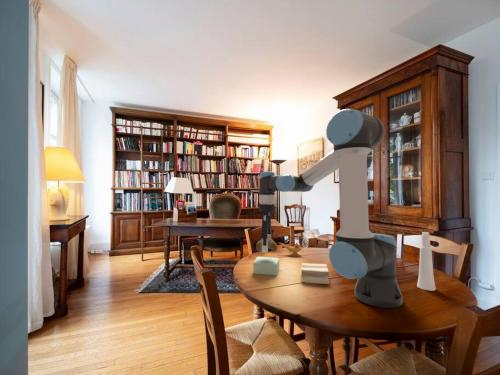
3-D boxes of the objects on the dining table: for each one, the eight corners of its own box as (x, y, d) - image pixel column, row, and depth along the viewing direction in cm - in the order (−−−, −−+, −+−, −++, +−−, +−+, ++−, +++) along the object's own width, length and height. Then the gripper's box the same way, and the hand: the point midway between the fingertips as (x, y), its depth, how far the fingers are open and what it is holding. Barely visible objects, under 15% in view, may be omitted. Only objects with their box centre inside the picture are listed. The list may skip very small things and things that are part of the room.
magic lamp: (279, 252, 154) (279, 234, 154) (308, 254, 148) (308, 236, 148) (276, 254, 147) (276, 236, 148) (307, 257, 142) (307, 238, 142)
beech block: (328, 284, 100) (328, 271, 100) (301, 281, 103) (301, 270, 103) (326, 275, 111) (326, 264, 111) (301, 273, 113) (301, 262, 114)
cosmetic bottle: (419, 283, 101) (418, 230, 102) (437, 288, 97) (436, 232, 97) (415, 287, 97) (414, 232, 98) (433, 292, 93) (433, 234, 93)
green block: (276, 275, 111) (276, 264, 111) (253, 273, 113) (253, 262, 113) (279, 267, 122) (279, 257, 122) (257, 266, 124) (257, 256, 124)
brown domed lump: (258, 260, 113) (260, 246, 110) (252, 246, 122) (254, 233, 119) (278, 258, 116) (280, 245, 113) (271, 245, 125) (273, 232, 122)
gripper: (271, 205, 106) (271, 256, 106) (277, 202, 128) (276, 245, 128) (254, 204, 108) (254, 255, 107) (262, 202, 130) (262, 244, 130)
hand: (266, 249), depth 118 cm, fingers closed on brown domed lump, 10 cm apart
